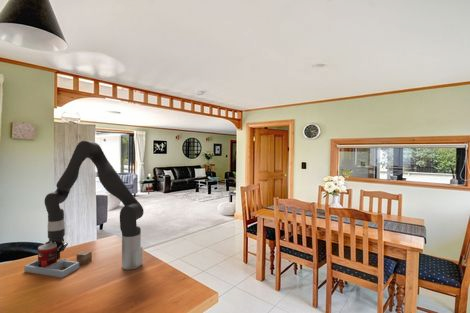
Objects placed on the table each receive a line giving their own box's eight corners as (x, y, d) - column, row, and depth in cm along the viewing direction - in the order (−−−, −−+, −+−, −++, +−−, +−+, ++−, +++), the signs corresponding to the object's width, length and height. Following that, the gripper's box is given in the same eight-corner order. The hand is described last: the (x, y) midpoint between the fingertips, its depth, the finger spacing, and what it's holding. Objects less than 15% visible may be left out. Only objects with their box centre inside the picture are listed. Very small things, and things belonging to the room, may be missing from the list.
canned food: (41, 264, 130) (40, 244, 129) (59, 261, 133) (58, 242, 132) (35, 271, 123) (35, 249, 122) (54, 268, 125) (54, 247, 125)
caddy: (82, 266, 128) (82, 260, 128) (62, 277, 117) (62, 271, 117) (47, 261, 133) (46, 255, 133) (24, 271, 122) (24, 265, 122)
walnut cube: (91, 260, 136) (91, 251, 135) (84, 264, 131) (84, 255, 131) (84, 259, 137) (84, 250, 136) (76, 263, 132) (76, 254, 132)
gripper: (72, 227, 134) (72, 257, 135) (53, 225, 137) (53, 255, 137) (59, 231, 126) (60, 264, 127) (39, 229, 129) (40, 261, 130)
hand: (56, 259), depth 132 cm, fingers closed
